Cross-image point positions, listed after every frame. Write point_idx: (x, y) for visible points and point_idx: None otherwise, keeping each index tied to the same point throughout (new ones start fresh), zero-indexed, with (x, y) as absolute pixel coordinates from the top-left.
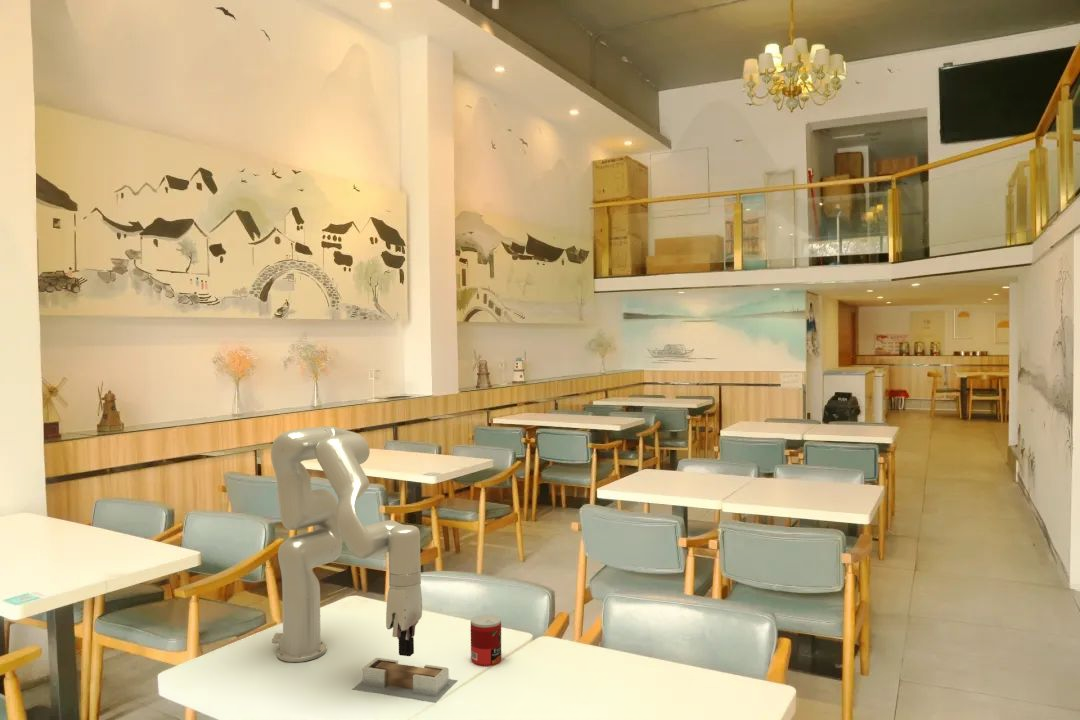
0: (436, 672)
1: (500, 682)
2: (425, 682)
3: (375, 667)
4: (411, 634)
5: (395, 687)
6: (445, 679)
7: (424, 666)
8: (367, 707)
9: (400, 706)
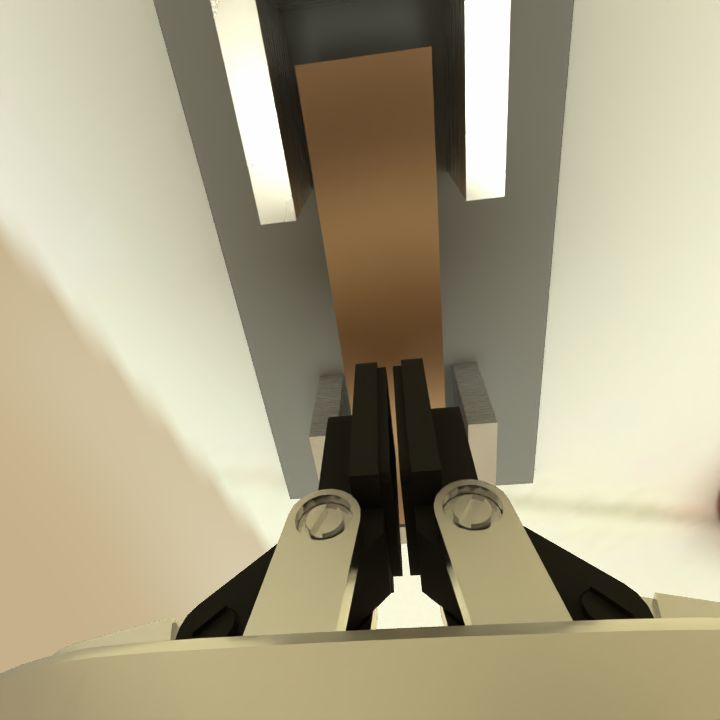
0: None
1: None
2: None
3: (298, 73)
4: (442, 610)
5: None
6: None
7: (468, 426)
8: (64, 235)
9: (188, 381)
